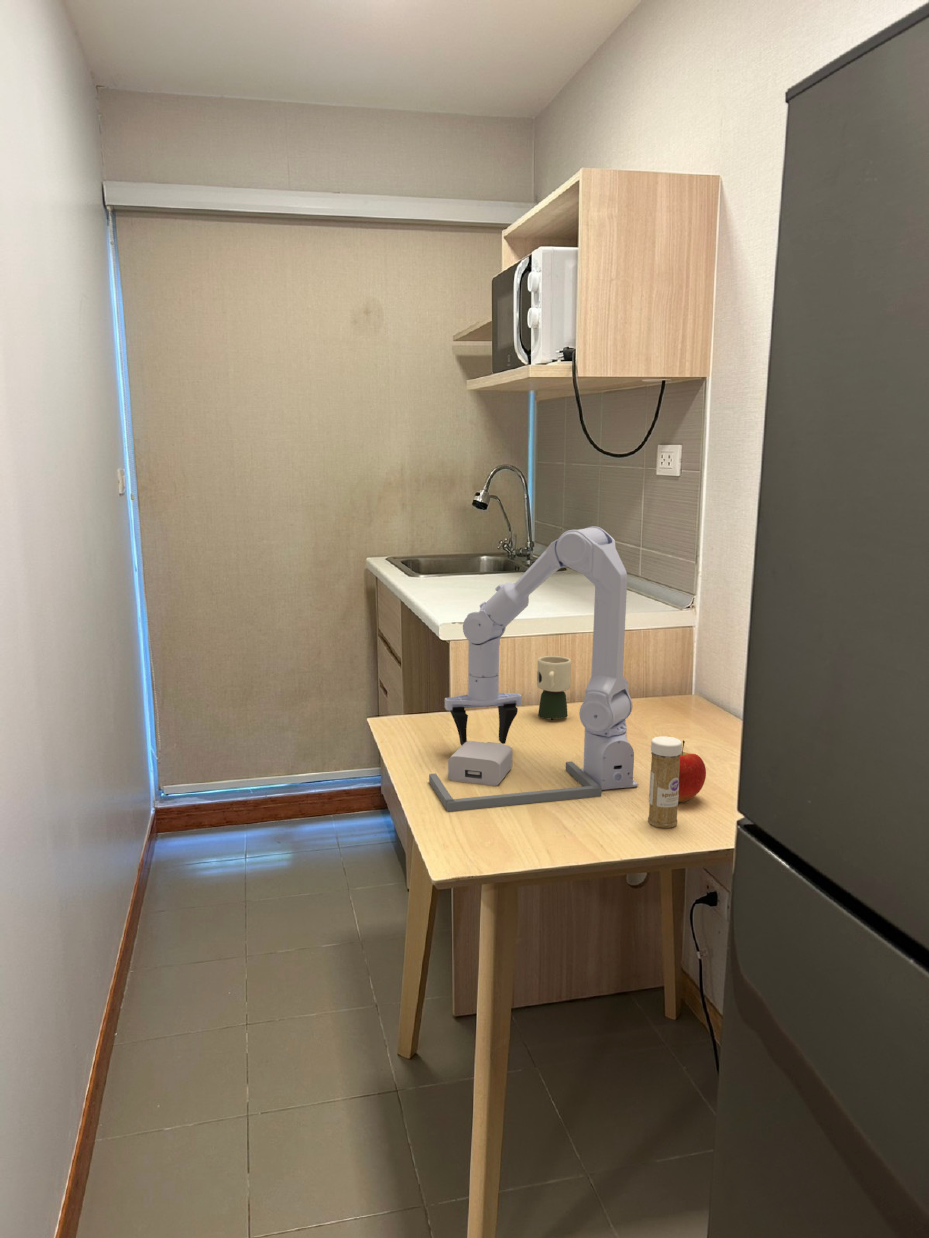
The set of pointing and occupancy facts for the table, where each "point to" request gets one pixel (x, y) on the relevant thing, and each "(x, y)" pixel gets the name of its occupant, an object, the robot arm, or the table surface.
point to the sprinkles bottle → (664, 781)
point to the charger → (480, 763)
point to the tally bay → (586, 791)
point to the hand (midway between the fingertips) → (482, 743)
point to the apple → (690, 775)
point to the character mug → (553, 685)
